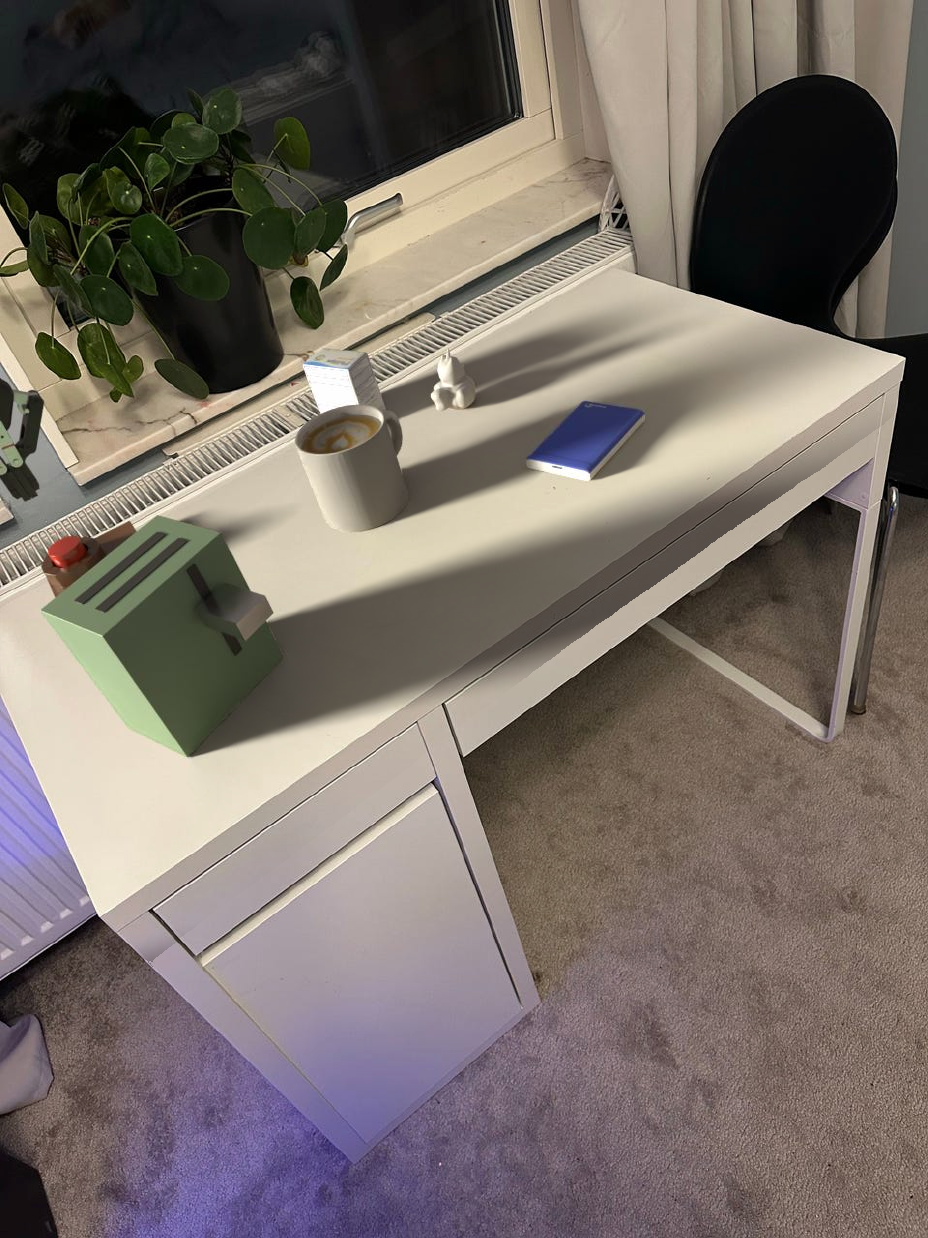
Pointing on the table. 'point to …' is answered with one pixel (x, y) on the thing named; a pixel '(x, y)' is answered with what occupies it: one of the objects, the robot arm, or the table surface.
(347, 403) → the medicine box
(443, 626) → the table surface
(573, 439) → the hard drive
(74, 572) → the switch block
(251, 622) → the toaster lever
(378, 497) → the coffee mug
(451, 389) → the white seated figurine
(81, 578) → the toaster
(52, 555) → the power button
